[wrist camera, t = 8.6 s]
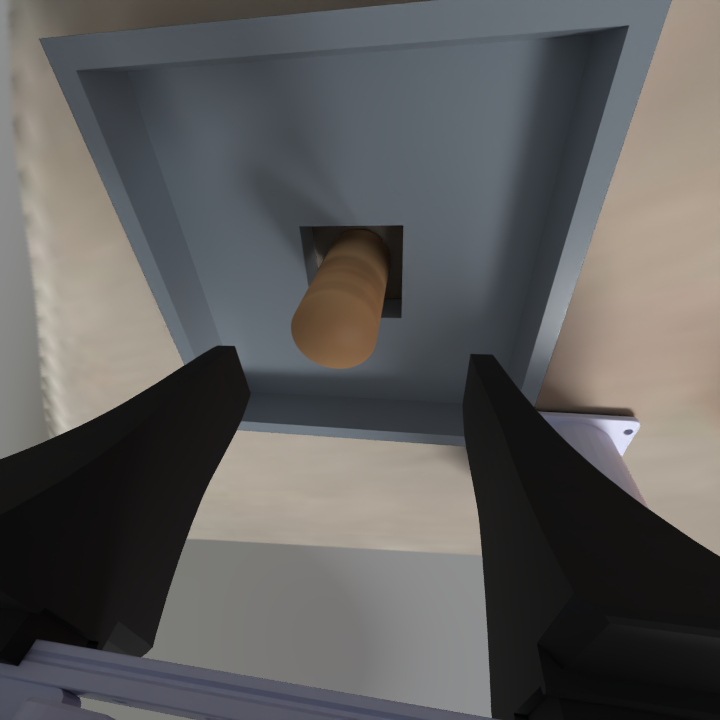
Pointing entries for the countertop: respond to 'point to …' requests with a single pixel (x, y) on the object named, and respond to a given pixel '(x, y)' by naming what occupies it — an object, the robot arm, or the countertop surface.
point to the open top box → (366, 184)
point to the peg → (344, 302)
